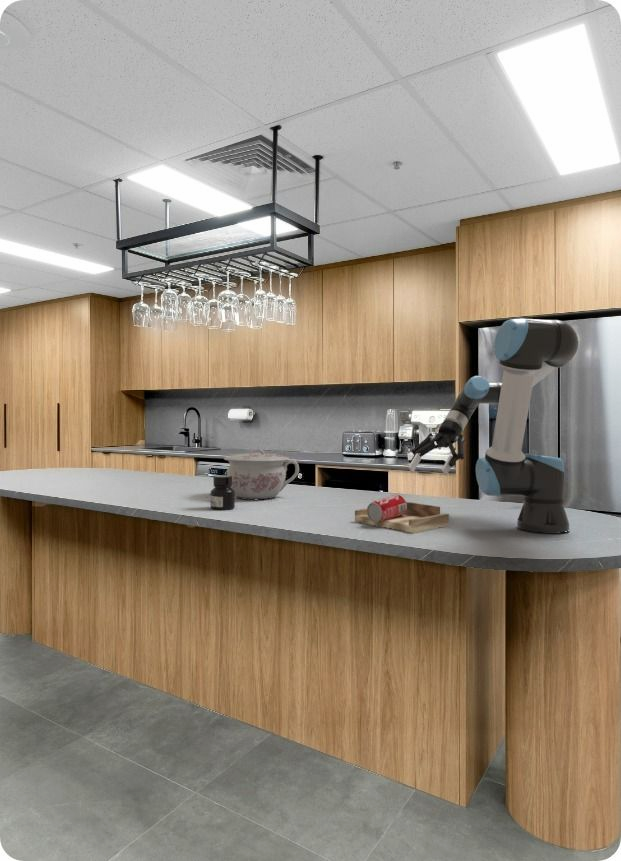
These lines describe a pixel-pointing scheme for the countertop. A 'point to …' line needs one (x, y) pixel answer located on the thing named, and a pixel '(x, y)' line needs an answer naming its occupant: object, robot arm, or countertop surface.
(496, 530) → the countertop surface
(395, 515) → the soda can
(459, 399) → the robot arm
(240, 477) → the chamber pot
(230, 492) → the ink bottle
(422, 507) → the wooden tray
